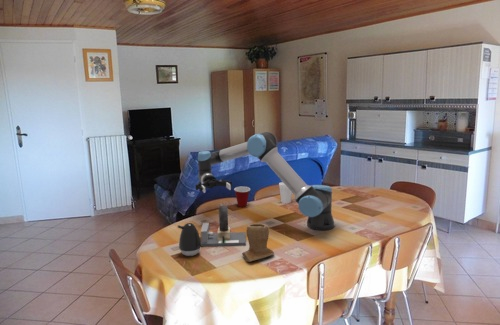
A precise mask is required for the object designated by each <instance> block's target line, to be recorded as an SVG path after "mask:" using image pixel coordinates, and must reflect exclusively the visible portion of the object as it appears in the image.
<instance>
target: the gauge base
mask: <svg viewBox="0 0 500 325" xmlns="http://www.w3.org/2000/svg"><path fill="white" fill-rule="evenodd" d="M246 237H247V233H246V232H244V231H243V232H241V231H240V232H230V240H225V241H224V243H223V240H218V232H214V231H210V222H203V223H202V225H201V230H200V241H201V247H203V248H207V247H208V248H209V247H236V246H238V247H239V246H240V247H241V246H243V247H244V246H246V245H247V239H246ZM201 247H200V248H201Z"/></svg>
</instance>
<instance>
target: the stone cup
mask: <svg viewBox="0 0 500 325" xmlns="http://www.w3.org/2000/svg"><path fill="white" fill-rule="evenodd" d="M269 232H270V231H269V226H268V225H267V224H265V223H251V224H248V225H246V237H247V241H248V245H249V248H248V250H245V251H243V252H241V253H242V256H243V258H244V260H245V261H246V262H250V263H251V262H253V261H258V260H262V259H265V258H268V257H270V256H273V255H274V254H275V252H274V250H272V249H271V248H269V247H268V246H267V245H268V240H269V236H270V235H269V234H270V233H269Z"/></svg>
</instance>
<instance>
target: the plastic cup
mask: <svg viewBox="0 0 500 325" xmlns="http://www.w3.org/2000/svg"><path fill="white" fill-rule="evenodd" d="M233 190H234V193H235V197H236V203H237V206H238V207H240V208H245V207H247V206H248V201H249V195H250V191H251V188H250V187H249V186H236V187H234V189H233Z"/></svg>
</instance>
